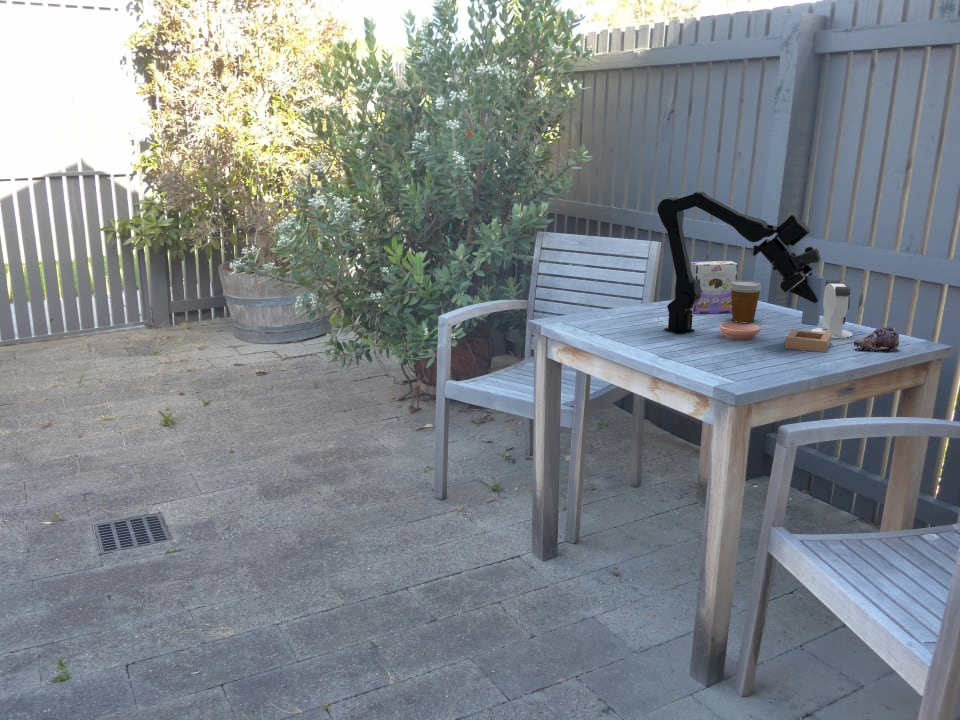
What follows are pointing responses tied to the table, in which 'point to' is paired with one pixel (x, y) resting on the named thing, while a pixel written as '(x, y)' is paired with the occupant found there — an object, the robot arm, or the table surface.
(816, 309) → the post
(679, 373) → the table surface
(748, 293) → the disposable coffee cup
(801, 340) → the frame
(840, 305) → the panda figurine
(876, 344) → the skull
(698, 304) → the candy box
